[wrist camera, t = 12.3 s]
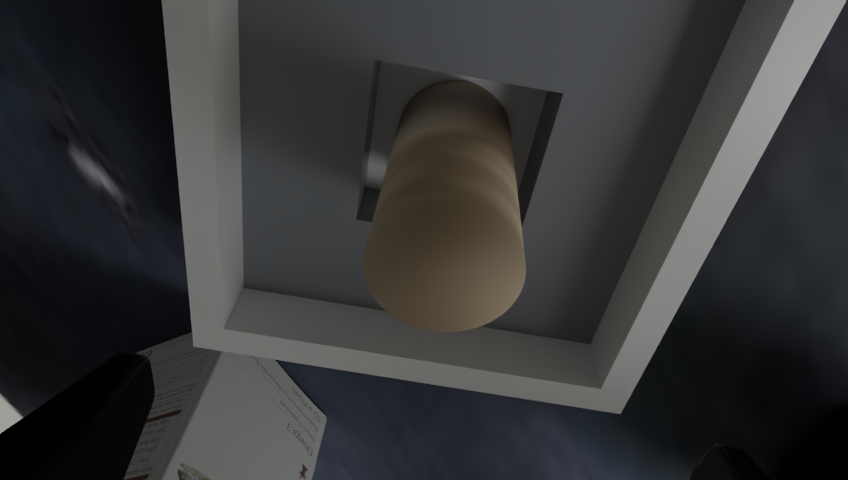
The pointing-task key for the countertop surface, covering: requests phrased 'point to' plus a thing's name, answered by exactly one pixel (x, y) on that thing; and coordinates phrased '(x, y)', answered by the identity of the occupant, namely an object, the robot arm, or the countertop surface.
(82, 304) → the countertop surface
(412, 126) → the wooden peg
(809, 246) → the countertop surface
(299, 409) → the supplement box
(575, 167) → the grey box
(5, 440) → the robot arm
